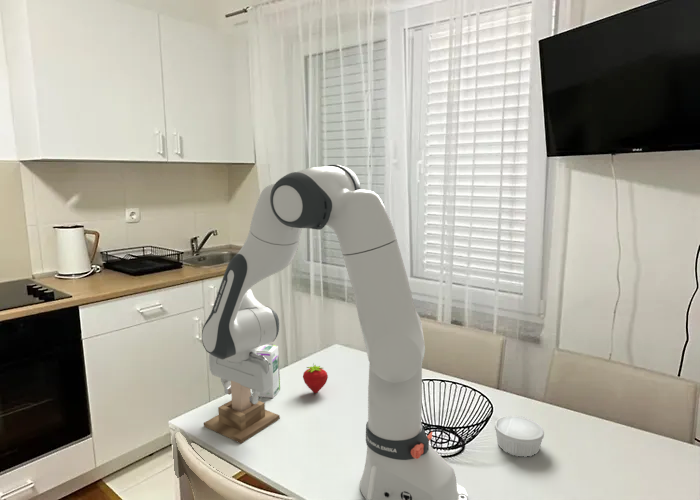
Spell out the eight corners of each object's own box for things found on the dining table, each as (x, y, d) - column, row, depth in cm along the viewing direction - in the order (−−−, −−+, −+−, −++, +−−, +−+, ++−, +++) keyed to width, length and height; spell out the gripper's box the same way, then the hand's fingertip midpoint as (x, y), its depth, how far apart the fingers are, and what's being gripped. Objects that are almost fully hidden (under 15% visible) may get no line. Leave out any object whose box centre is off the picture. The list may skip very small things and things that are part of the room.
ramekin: (486, 435, 120) (487, 416, 119) (529, 432, 121) (530, 413, 120) (505, 462, 109) (506, 441, 108) (551, 459, 110) (552, 438, 109)
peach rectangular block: (251, 418, 126) (250, 376, 124) (241, 424, 123) (240, 381, 121) (242, 414, 128) (240, 373, 126) (232, 420, 125) (230, 377, 123)
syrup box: (273, 398, 139) (272, 352, 137) (255, 396, 140) (253, 350, 138) (280, 389, 145) (279, 344, 142) (262, 387, 146) (260, 343, 143)
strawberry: (326, 398, 139) (326, 366, 137) (301, 397, 140) (300, 365, 138) (329, 389, 145) (329, 358, 143) (305, 387, 146) (304, 357, 144)
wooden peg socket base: (279, 418, 128) (279, 401, 127) (241, 443, 116) (240, 424, 116) (243, 404, 136) (242, 388, 135) (203, 426, 124) (202, 408, 123)
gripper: (277, 353, 119) (278, 403, 122) (222, 337, 131) (224, 383, 133) (259, 361, 114) (261, 414, 116) (203, 344, 125) (206, 392, 128)
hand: (241, 397), depth 125 cm, fingers open, 8 cm apart
